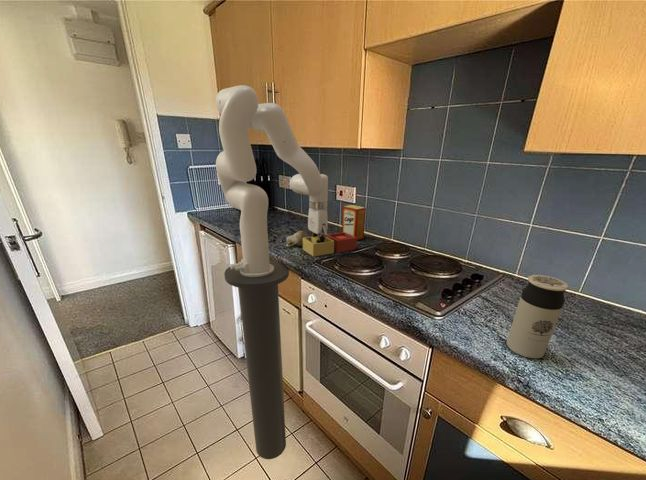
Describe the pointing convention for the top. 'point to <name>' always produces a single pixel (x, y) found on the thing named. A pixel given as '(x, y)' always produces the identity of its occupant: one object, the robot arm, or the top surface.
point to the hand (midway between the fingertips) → (317, 246)
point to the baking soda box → (354, 220)
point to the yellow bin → (318, 247)
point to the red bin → (343, 242)
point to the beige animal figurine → (296, 239)
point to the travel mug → (536, 316)
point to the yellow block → (315, 239)
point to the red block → (340, 237)
